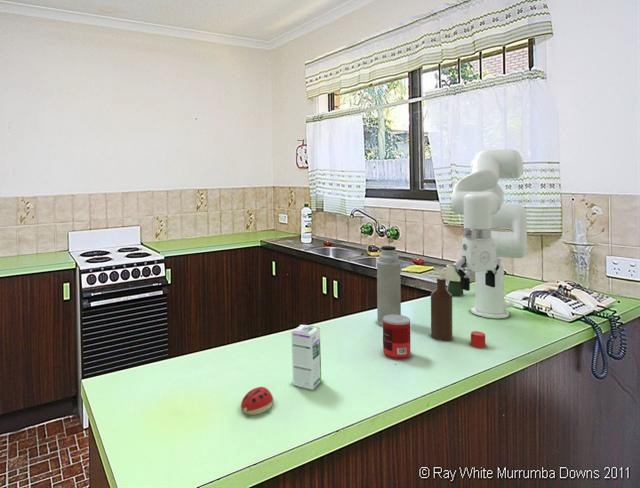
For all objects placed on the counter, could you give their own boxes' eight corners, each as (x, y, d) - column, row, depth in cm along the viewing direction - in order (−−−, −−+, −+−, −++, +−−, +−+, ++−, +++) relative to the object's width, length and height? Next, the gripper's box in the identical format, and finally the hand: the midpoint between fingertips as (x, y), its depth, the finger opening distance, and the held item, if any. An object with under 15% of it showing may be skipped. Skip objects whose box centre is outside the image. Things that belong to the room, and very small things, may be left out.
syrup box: (313, 390, 111) (312, 334, 111) (292, 385, 114) (291, 329, 114) (321, 381, 116) (320, 327, 116) (301, 376, 119) (300, 323, 119)
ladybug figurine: (279, 401, 106) (279, 386, 106) (258, 421, 98) (258, 405, 98) (255, 394, 110) (255, 380, 110) (233, 412, 102) (233, 397, 102)
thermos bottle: (375, 319, 163) (374, 244, 162) (397, 320, 163) (396, 244, 162) (380, 327, 155) (379, 248, 154) (403, 327, 155) (402, 248, 154)
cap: (474, 347, 136) (474, 335, 136) (468, 342, 140) (468, 330, 140) (487, 348, 136) (487, 335, 135) (482, 343, 139) (482, 331, 139)
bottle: (442, 332, 149) (442, 275, 148) (456, 339, 143) (456, 279, 142) (426, 335, 147) (426, 277, 147) (440, 342, 141) (440, 281, 140)
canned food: (414, 353, 132) (414, 317, 132) (403, 362, 127) (403, 324, 126) (390, 347, 138) (389, 312, 137) (378, 355, 132) (378, 319, 131)
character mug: (472, 295, 191) (471, 266, 191) (464, 299, 187) (463, 268, 187) (447, 291, 200) (447, 262, 200) (439, 293, 196) (439, 264, 195)
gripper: (463, 237, 131) (464, 294, 132) (509, 233, 136) (509, 288, 137) (445, 234, 138) (446, 287, 139) (489, 230, 143) (490, 282, 144)
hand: (477, 287), depth 138 cm, fingers open, 9 cm apart
